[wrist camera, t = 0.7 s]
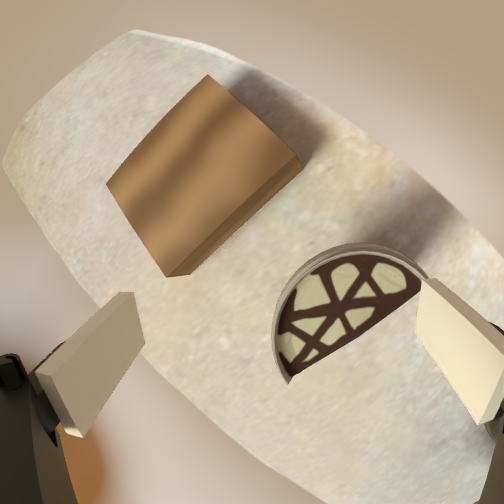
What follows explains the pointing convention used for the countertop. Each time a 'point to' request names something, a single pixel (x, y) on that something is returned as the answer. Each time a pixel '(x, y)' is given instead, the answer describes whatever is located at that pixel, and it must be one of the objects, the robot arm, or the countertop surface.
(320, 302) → the food container
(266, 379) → the countertop surface
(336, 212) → the countertop surface
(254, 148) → the walnut block
